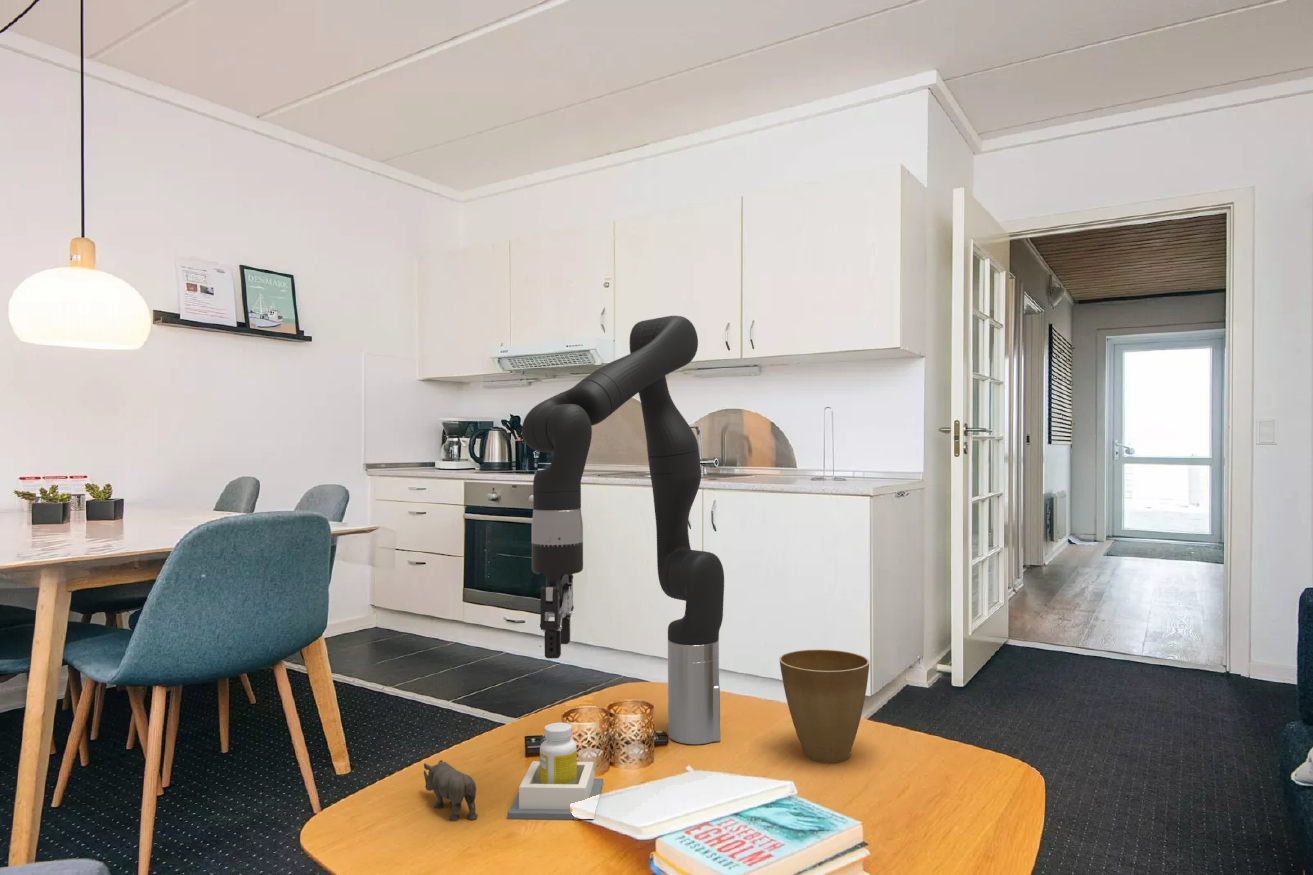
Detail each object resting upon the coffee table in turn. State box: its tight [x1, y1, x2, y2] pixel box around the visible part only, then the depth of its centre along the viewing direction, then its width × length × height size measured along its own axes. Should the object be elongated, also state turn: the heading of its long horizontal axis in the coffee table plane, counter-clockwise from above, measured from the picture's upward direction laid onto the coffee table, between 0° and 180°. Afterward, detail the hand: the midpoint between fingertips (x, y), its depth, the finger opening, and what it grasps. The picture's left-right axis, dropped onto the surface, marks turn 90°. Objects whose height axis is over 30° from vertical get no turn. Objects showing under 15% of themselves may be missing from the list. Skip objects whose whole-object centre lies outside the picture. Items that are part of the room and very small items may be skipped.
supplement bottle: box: [539, 722, 578, 784], centre depth 114 cm, size 5×5×10 cm
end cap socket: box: [507, 760, 604, 821], centre depth 114 cm, size 12×12×4 cm
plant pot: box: [778, 649, 870, 763], centre depth 131 cm, size 15×15×16 cm
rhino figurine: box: [423, 759, 478, 822], centre depth 112 cm, size 4×14×6 cm, turn 42°
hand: (557, 650), depth 114 cm, fingers open, 8 cm apart
